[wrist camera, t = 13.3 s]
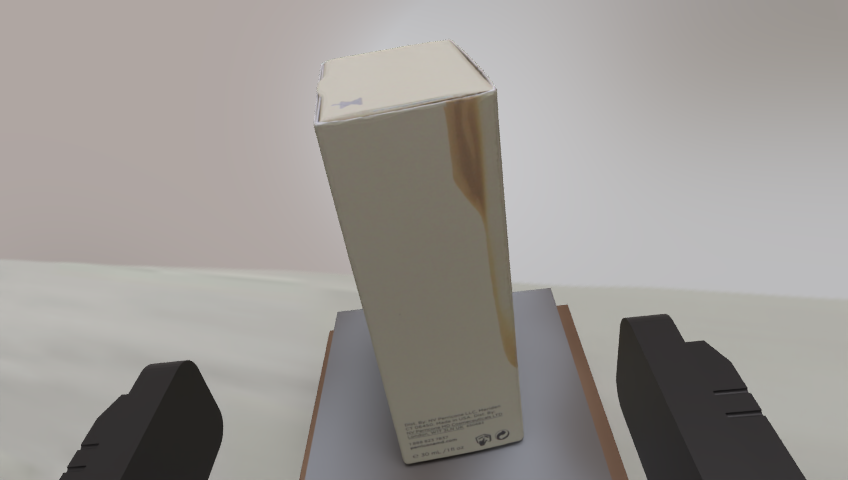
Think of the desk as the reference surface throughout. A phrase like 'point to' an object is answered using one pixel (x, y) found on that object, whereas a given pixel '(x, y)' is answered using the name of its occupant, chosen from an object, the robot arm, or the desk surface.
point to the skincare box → (426, 239)
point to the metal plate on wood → (484, 469)
